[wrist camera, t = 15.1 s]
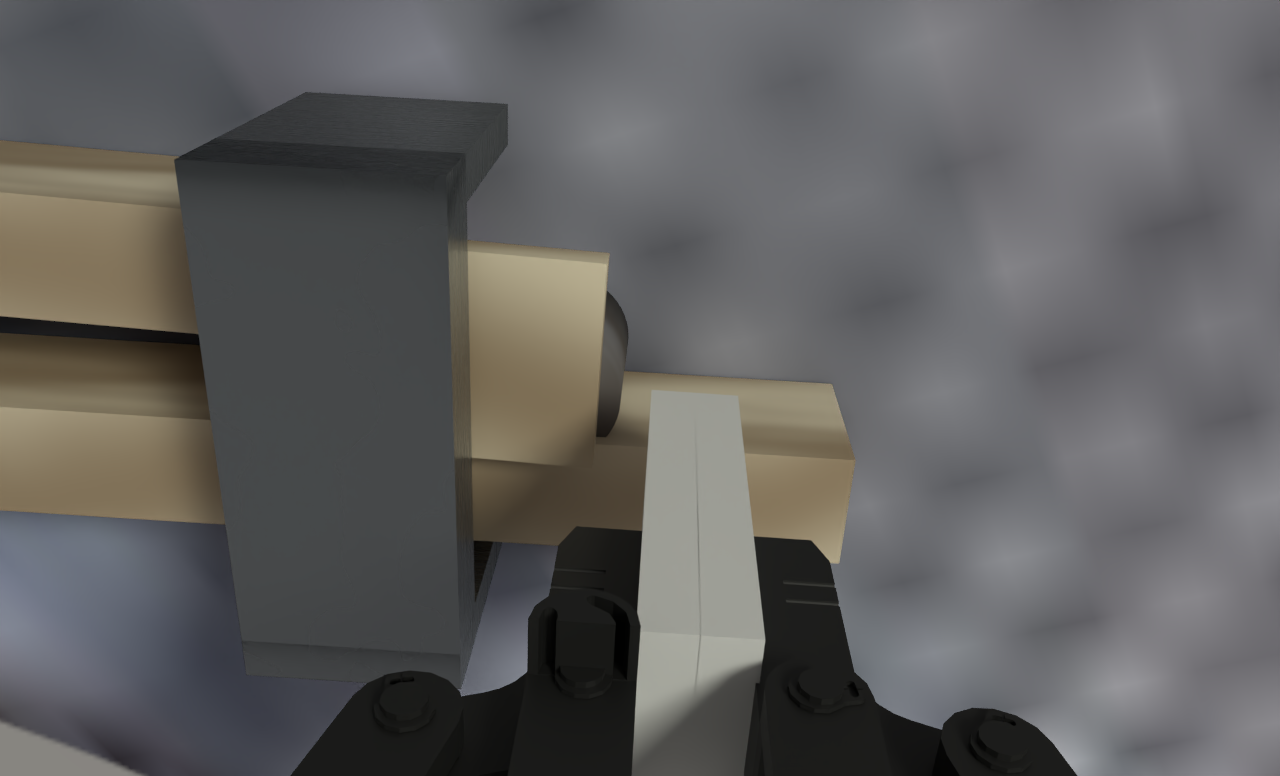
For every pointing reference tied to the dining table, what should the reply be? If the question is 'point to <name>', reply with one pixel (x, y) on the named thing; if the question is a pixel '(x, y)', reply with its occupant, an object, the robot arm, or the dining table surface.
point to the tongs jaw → (163, 300)
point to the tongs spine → (502, 490)
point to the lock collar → (344, 378)
